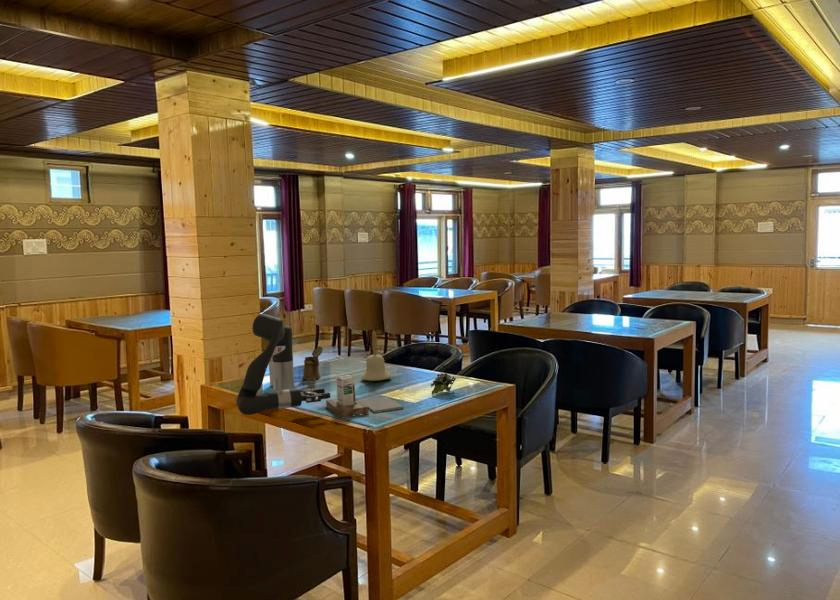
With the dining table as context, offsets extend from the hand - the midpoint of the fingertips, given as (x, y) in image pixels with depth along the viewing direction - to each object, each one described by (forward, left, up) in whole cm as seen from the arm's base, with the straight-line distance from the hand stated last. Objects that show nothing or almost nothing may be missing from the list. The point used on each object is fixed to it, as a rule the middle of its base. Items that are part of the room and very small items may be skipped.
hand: (327, 393), depth 264 cm
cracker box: (-6, +67, -9) cm, 68 cm away
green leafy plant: (+56, +4, -9) cm, 57 cm away
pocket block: (+8, 0, -9) cm, 12 cm away
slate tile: (+23, 0, -9) cm, 25 cm away
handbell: (+39, +48, -9) cm, 63 cm away
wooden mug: (+12, +68, -9) cm, 70 cm away
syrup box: (+8, 0, -9) cm, 12 cm away
